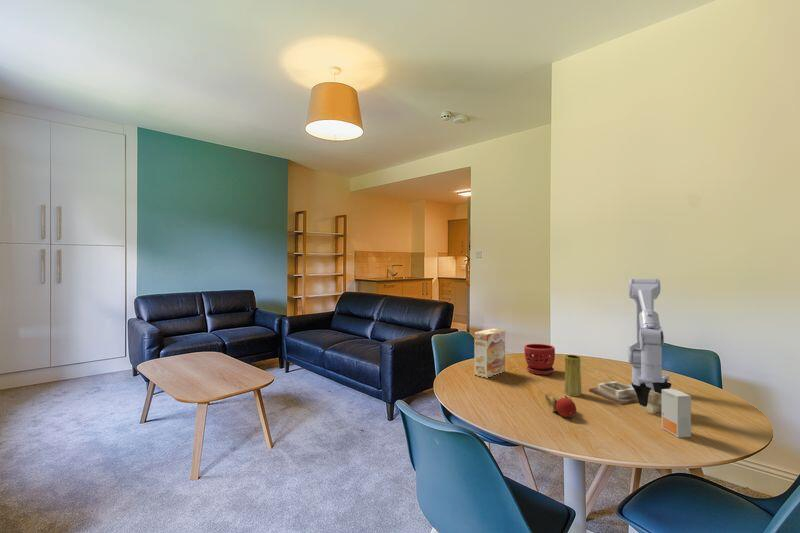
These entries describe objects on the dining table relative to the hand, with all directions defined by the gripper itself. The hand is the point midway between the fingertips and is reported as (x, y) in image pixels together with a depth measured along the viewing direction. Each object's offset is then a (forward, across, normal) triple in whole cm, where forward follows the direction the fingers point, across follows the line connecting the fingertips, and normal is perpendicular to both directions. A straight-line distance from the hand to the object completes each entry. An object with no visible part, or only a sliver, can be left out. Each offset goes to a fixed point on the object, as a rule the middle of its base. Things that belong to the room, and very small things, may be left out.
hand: (651, 404), depth 121 cm
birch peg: (+2, 0, 0) cm, 2 cm away
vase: (+2, -13, +21) cm, 25 cm away
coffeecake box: (+2, -29, +53) cm, 60 cm away
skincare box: (+2, -9, -14) cm, 17 cm away
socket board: (+2, +1, +14) cm, 14 cm away
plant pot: (+2, -6, +48) cm, 48 cm away
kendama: (+2, -29, +12) cm, 31 cm away
